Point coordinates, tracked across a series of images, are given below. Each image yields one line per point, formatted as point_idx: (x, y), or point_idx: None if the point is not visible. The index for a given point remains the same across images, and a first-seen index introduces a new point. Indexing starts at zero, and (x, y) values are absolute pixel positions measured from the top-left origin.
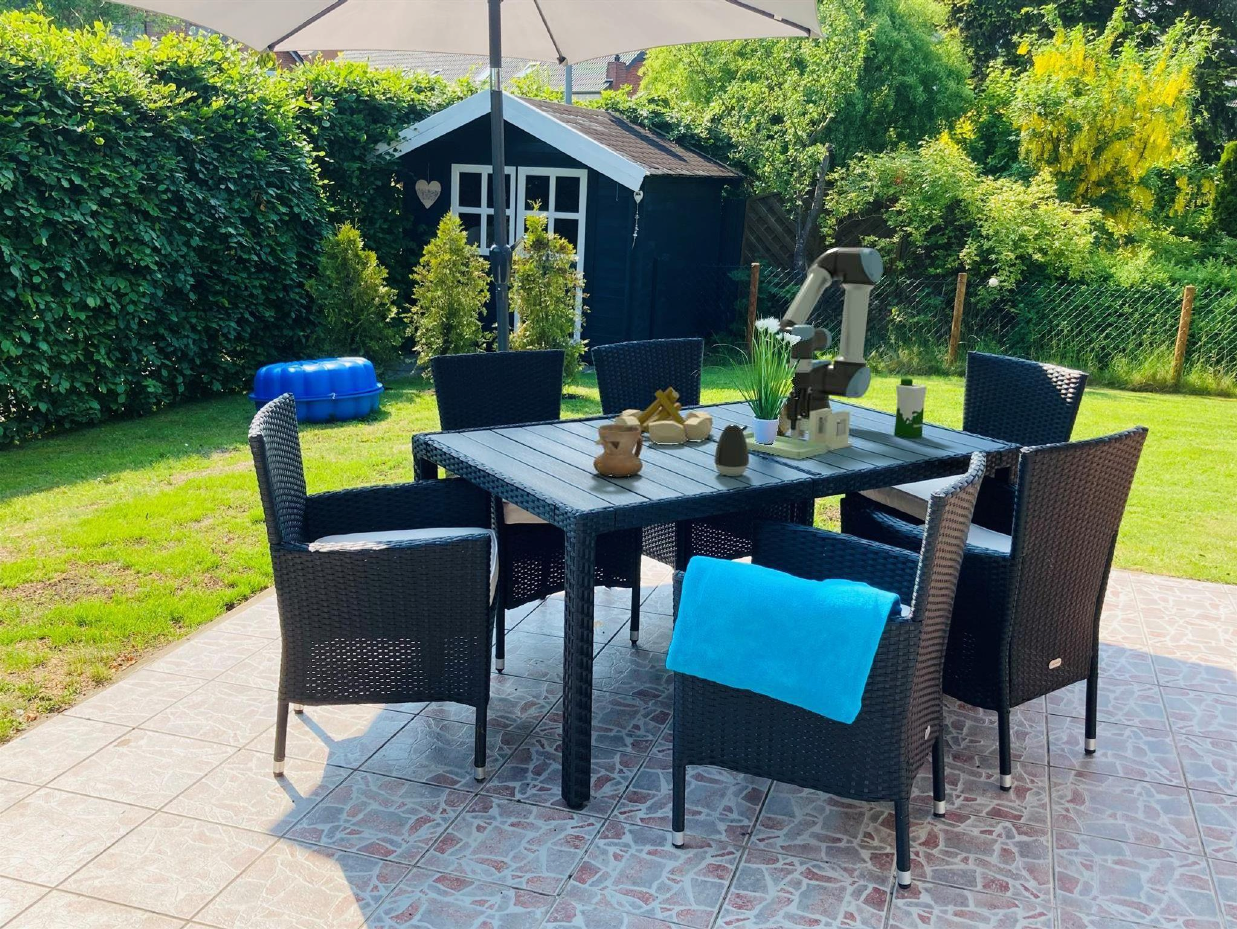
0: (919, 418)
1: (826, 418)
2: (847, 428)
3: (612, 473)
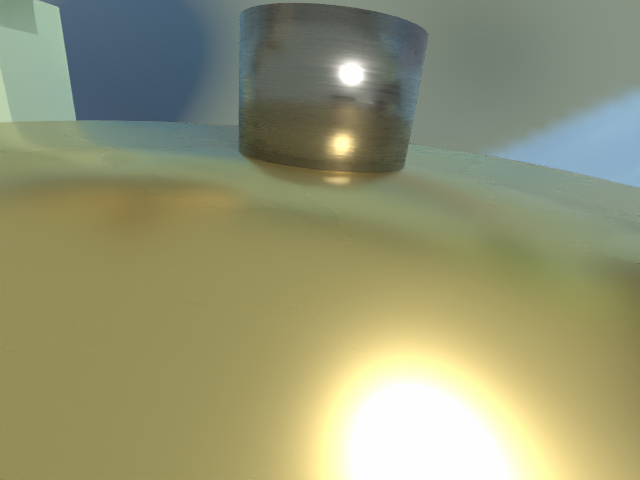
0: None
1: None
2: None
3: None
